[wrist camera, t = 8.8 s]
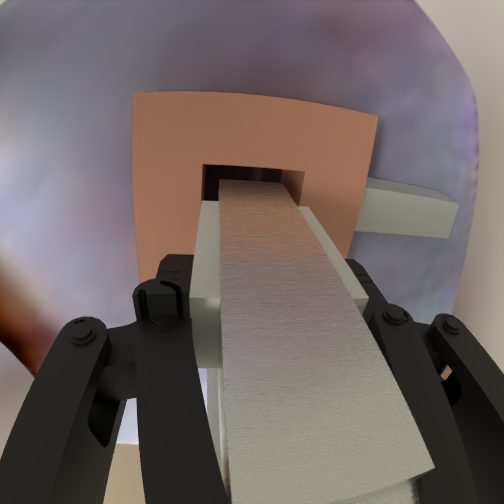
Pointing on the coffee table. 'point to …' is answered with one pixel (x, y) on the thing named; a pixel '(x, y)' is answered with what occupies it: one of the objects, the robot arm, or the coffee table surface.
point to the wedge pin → (301, 369)
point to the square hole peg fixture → (267, 156)
